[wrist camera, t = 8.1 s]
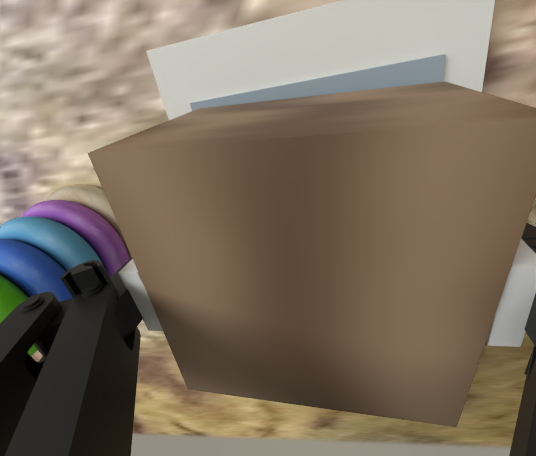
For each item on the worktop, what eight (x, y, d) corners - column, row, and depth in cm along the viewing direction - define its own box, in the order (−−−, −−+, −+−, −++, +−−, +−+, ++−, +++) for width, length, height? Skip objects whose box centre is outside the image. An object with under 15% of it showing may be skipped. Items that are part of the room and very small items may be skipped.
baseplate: (236, 292, 22) (229, 308, 21) (162, 50, 15) (143, 50, 14) (443, 292, 19) (451, 312, 17) (482, -31, 11) (503, -43, 10)
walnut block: (237, 280, 18) (187, 389, 12) (198, 108, 13) (87, 153, 8) (413, 287, 16) (456, 426, 10) (444, 81, 11) (563, 116, 5)
